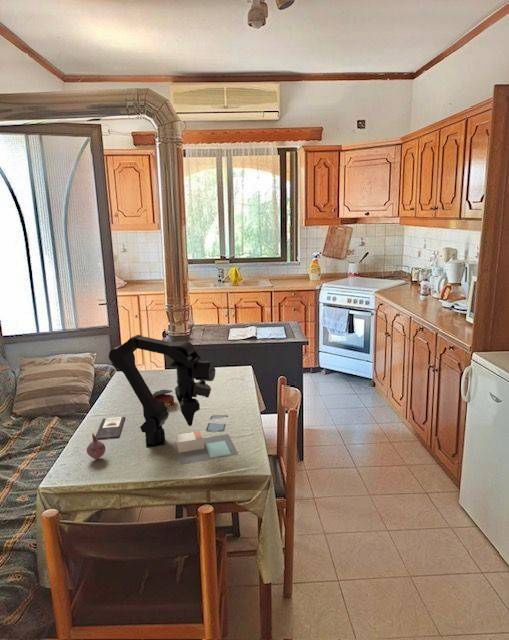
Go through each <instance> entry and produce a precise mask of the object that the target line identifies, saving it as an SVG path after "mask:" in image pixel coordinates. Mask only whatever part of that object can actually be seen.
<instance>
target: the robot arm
mask: <svg viewBox="0 0 509 640" xmlns="http://www.w3.org/2000/svg"><path fill="white" fill-rule="evenodd" d="M194 347H195V346H194V345H193V343H191V342H189V341H184V340H183V341H181V340H177V341H167V340H166V341H165V340H162V339H157V338H152V337H148V336H144V335H141V334H136V335H133V336H131V337H130V338H129V339H128V340H127V341H125V342H123V344H120V345H118V346H116V347H114V348H112V349H110V351H109V353H108V354H109V355H108V359H109V361H110V363H112V365H113V366H114V368H116V369H117V370H119V371H121V372H122V373H123V375H124V377H125V378H126V380H127V382H128V383H129V385H130V387H131V388H132V391H134V394H135V396H136V397H137V399H138V401H139V402H140V404H141V406H142V412H143V418H144V422H143V423H142V425H140V426H139V428H140V430H141V432H142V433H145V436H144V437H145V447H146V448H153V447H159V446H164V445H165V442H166V433H165V432H166V431H165V428H163V425H165V423H166V421H167V420H168V418H169V415H170V414H169V408H167V407H166V406H165V404H164V402H163V401H161V402H159V401H157V400H156V399H155V398H154V397H153V393H152V391H151V390H150V388H149V386H148V385H147V383H146V381H145V380H144V378H143V376H142V374H141V373H140V371H139V369H138V366H136V356H135V353H134V352H136V350H138V349H139V350H143V351H147V352H152V353H157V354H160V355H165V356H167V357H168V358H169V359H170V360H173V362H172V363H171V364H170V365H169V366H170V368H171V367H174V368H175V369H176V384H177V386H175V388H174V391H175V397H176V400H177V401H178V404H179V409H180V412H181V415H182V416H183V418H184V419H185V421H186V424H187V425H188V426H189V427H192V426H193V422H194V418H195V413H196V412H198V411H200V410H201V407H200V402H199V400H198V399H197V397H198V396H199V397H200V396H202V397H204V398H208V399H209V397H210V395H211V390H212V387H211V386H210V385H209V384H208V383H207V382H213V381H214V380H215V377H216V368H215V365H214V364H213V360H202V358H201V356H200V355H199V353H198V352H197V351H196V349H195V348H194ZM190 358H191V359H190Z"/></svg>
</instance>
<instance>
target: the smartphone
mask: <svg viewBox="0 0 509 640" xmlns="http://www.w3.org/2000/svg"><path fill="white" fill-rule="evenodd" d="M224 418H229V415H225V414H222V415H220V414H217V415H215V414H213V415H210V418H209V420H217V419H224ZM226 426H227V423H215V422H208V423H207V425H206V427H205V432H212V433H214V432H215V433H216V432H217V433H218V432H221V433H222V432H224V431H225V429H226Z"/></svg>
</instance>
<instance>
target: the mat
mask: <svg viewBox="0 0 509 640" xmlns="http://www.w3.org/2000/svg"><path fill="white" fill-rule="evenodd" d="M203 438H204V449H199V450H193V451H187V452H181V453H179V451H178V447H177V441H176V442H174V444H175V449H176V452H177V457H178V460H179V461H178V462H179V464H180V465H187V464H191V463H196V462H197V463H198V462H203V461H208V460H214V459H220V458H226V457H230V456H231V457H232V456H237V455H239V452H238V451H237V448H236V446H235V445H234V443H233V441H232V439H231V437H230V435H229V433H228V434H220V435H214V436H209V437H208V436H207V437H203Z"/></svg>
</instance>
